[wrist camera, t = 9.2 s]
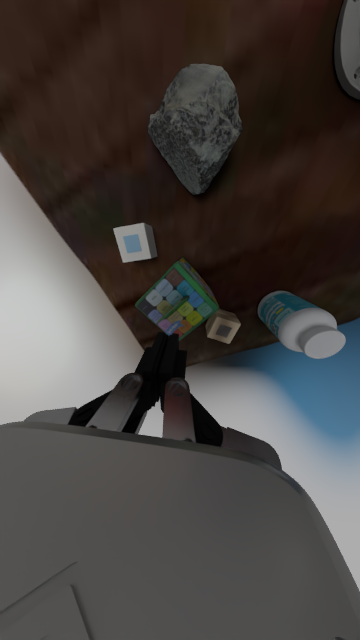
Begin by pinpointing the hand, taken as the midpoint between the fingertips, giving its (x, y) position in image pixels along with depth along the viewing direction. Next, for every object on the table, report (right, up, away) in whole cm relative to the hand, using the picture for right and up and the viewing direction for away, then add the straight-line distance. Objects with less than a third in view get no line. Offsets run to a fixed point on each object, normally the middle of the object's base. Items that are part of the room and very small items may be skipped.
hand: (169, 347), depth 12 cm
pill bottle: (+21, +5, +19) cm, 29 cm away
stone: (+3, +27, +10) cm, 29 cm away
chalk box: (+1, +9, +19) cm, 21 cm away
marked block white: (-6, +17, +16) cm, 24 cm away
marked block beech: (+10, +2, +22) cm, 24 cm away
